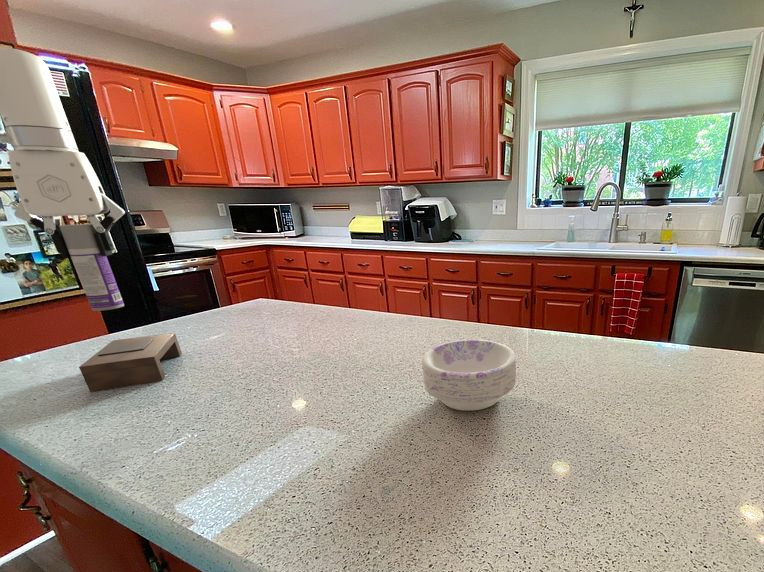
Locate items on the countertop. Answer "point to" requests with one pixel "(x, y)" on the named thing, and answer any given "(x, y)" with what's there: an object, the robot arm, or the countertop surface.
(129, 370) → the shelf
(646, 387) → the countertop surface
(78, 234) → the container
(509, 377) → the paper bowls
